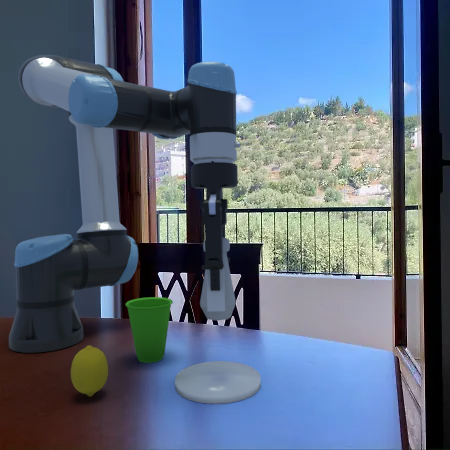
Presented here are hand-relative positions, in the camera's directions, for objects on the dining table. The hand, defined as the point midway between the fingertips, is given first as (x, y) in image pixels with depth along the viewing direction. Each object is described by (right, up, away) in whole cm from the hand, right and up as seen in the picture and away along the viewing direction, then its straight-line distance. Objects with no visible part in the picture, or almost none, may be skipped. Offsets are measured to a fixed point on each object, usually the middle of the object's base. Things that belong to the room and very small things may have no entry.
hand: (217, 305), depth 68 cm
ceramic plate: (0, -13, +1) cm, 13 cm away
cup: (-13, -13, +13) cm, 23 cm away
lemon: (-20, -14, -3) cm, 24 cm away
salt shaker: (0, -2, 0) cm, 2 cm away
